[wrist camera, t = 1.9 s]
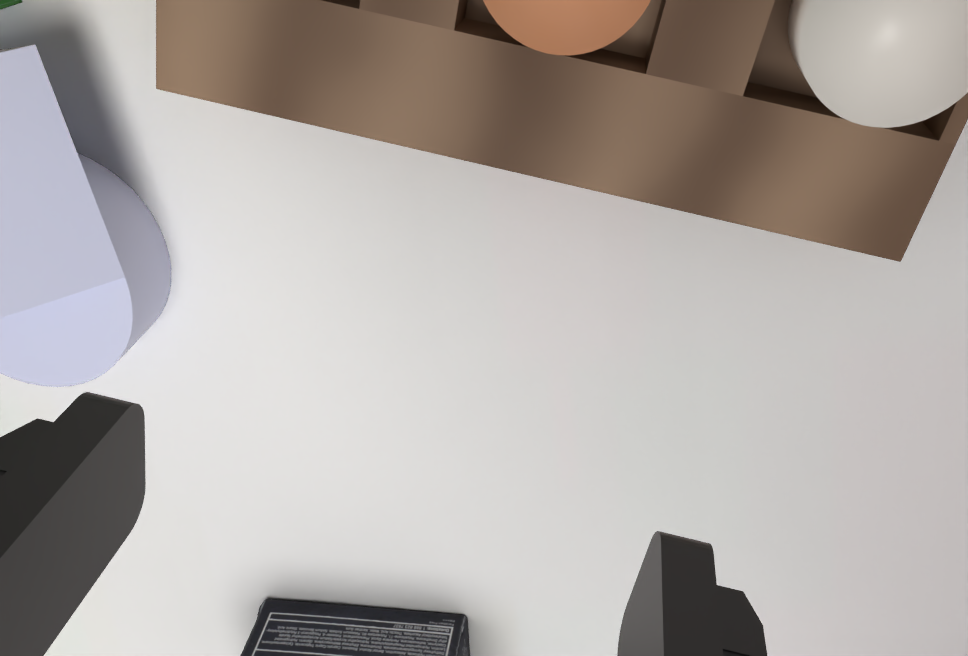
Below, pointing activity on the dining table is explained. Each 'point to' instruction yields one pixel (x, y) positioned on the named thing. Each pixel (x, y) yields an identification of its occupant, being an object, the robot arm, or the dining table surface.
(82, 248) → the tape dispenser
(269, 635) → the small box
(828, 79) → the white button
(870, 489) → the dining table surface
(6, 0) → the hardback book
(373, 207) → the dining table surface
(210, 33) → the brown slotted panel
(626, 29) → the terracotta button
